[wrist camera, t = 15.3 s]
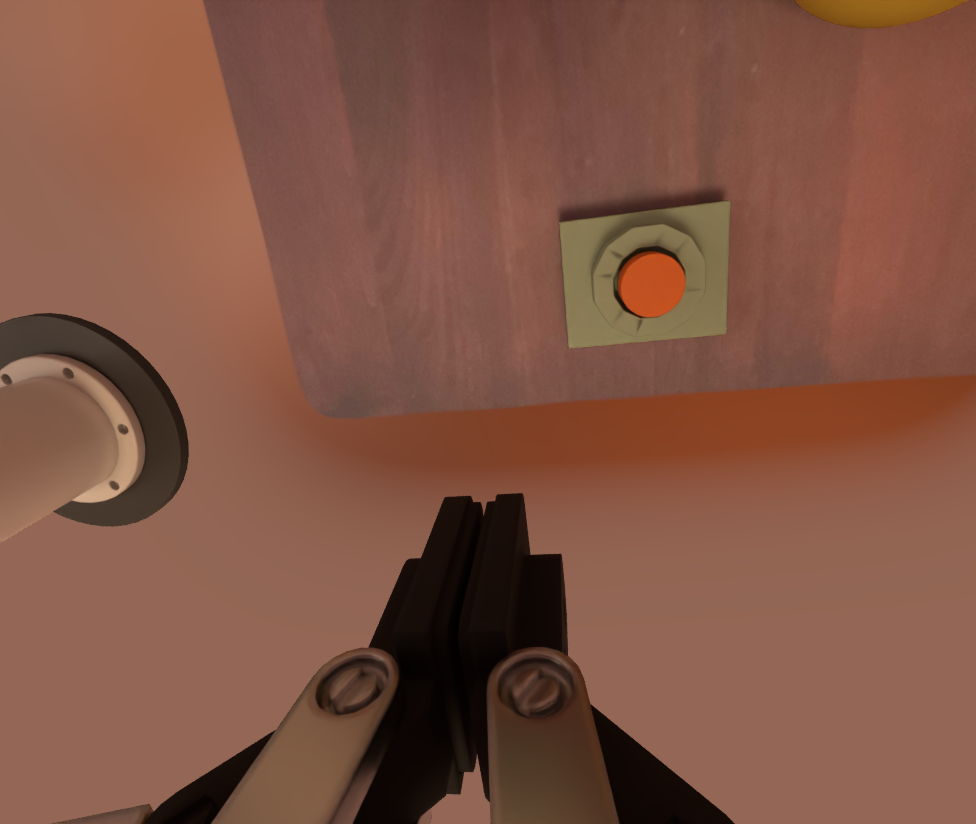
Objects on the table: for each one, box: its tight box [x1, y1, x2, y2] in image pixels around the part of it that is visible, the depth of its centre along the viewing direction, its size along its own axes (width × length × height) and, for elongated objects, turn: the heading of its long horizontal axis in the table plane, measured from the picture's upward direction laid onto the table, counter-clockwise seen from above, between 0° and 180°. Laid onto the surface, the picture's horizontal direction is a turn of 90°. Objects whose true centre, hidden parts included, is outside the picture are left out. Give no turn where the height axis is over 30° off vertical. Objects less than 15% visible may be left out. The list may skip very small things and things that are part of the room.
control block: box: [559, 201, 730, 348], centre depth 33 cm, size 10×8×4 cm
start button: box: [618, 251, 685, 317], centre depth 31 cm, size 4×4×2 cm
